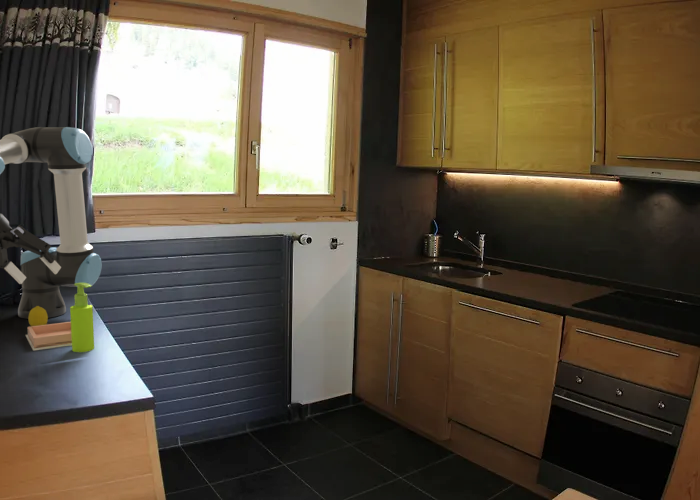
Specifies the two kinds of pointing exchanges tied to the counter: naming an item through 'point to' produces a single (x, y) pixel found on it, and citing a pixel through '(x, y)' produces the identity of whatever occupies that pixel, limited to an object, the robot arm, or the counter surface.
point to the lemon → (38, 316)
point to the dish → (50, 334)
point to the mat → (46, 347)
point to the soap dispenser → (82, 321)
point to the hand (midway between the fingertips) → (40, 276)
